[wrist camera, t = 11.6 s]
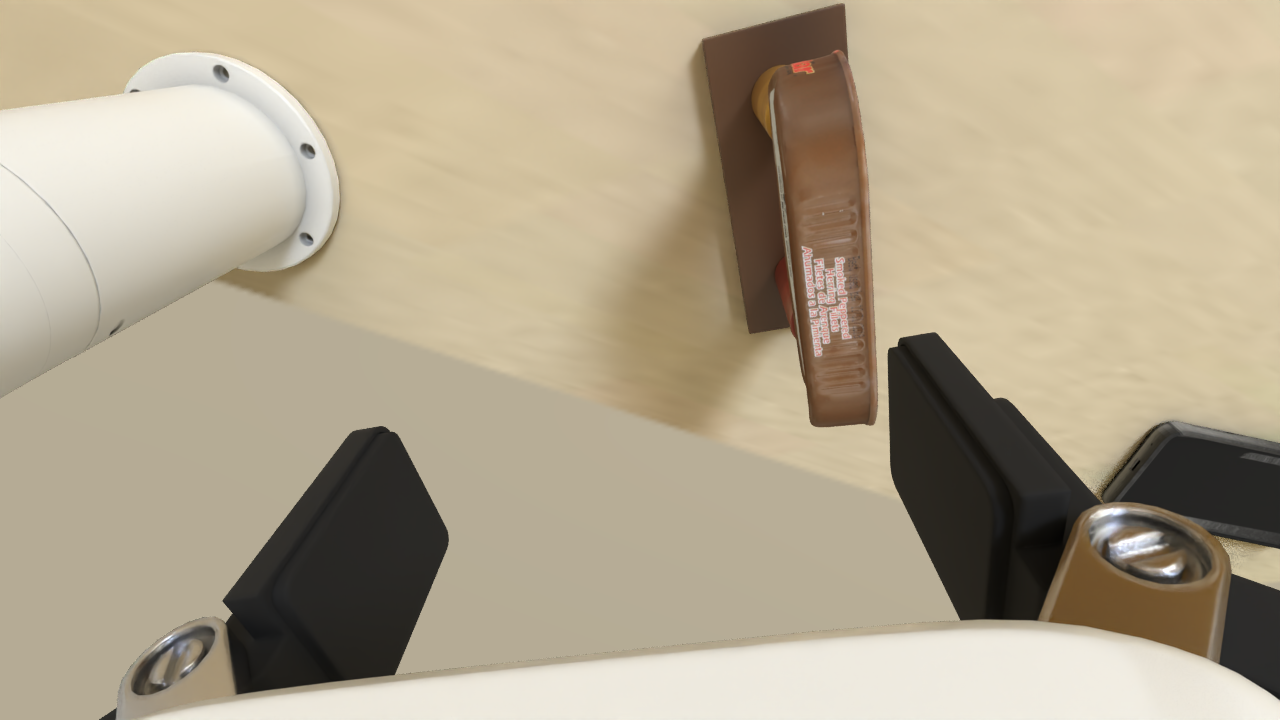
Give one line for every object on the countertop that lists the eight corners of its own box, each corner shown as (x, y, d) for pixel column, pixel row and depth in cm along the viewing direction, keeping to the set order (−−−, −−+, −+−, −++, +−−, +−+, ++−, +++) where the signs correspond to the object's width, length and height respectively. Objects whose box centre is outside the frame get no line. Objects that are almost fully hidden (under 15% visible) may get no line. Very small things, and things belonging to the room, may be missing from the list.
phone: (1299, 552, 44) (1104, 513, 43) (1286, 541, 45) (1095, 502, 44) (1388, 471, 40) (1174, 426, 39) (1371, 460, 41) (1162, 416, 40)
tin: (849, 361, 31) (897, 466, 24) (787, 370, 32) (817, 476, 24) (826, 42, 24) (886, 53, 17) (748, 61, 25) (772, 80, 17)
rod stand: (747, 326, 39) (759, 390, 32) (701, 38, 31) (704, 44, 24) (858, 307, 38) (895, 369, 31) (839, 3, 30) (883, -1, 23)
